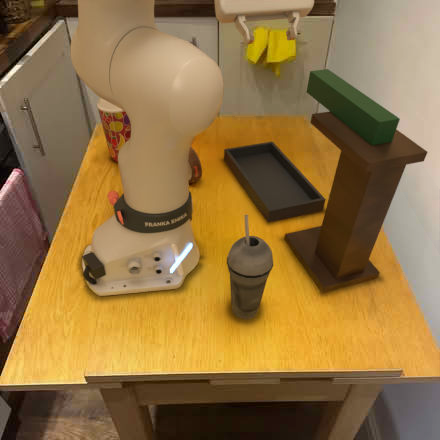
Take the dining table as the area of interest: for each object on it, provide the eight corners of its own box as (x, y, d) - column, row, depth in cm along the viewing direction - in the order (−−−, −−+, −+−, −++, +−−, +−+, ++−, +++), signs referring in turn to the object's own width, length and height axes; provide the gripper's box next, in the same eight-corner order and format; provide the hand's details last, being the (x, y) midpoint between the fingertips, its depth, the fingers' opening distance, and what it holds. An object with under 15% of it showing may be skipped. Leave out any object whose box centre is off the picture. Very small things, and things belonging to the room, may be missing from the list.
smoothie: (108, 149, 108) (93, 68, 93) (140, 148, 109) (130, 67, 94) (106, 166, 102) (89, 82, 88) (139, 165, 103) (128, 81, 88)
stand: (322, 293, 75) (362, 164, 55) (284, 239, 85) (306, 114, 65) (377, 278, 78) (433, 150, 58) (334, 228, 88) (369, 105, 68)
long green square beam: (371, 145, 59) (379, 121, 56) (306, 92, 72) (309, 70, 69) (392, 142, 60) (400, 118, 57) (323, 90, 72) (327, 68, 70)
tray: (268, 222, 88) (269, 210, 86) (223, 160, 106) (224, 149, 103) (323, 210, 92) (325, 199, 89) (271, 152, 109) (272, 141, 107)
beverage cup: (262, 329, 69) (277, 236, 54) (220, 321, 69) (224, 228, 55) (268, 297, 73) (283, 205, 59) (228, 291, 74) (233, 198, 60)
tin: (203, 186, 97) (203, 153, 91) (192, 190, 96) (191, 157, 90) (172, 158, 106) (169, 126, 99) (161, 161, 104) (158, 130, 98)
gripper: (211, -44, 74) (227, 36, 76) (311, -47, 79) (323, 28, 81) (203, -21, 80) (218, 53, 82) (296, -25, 85) (308, 44, 87)
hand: (271, 40), depth 82 cm, fingers open, 8 cm apart
